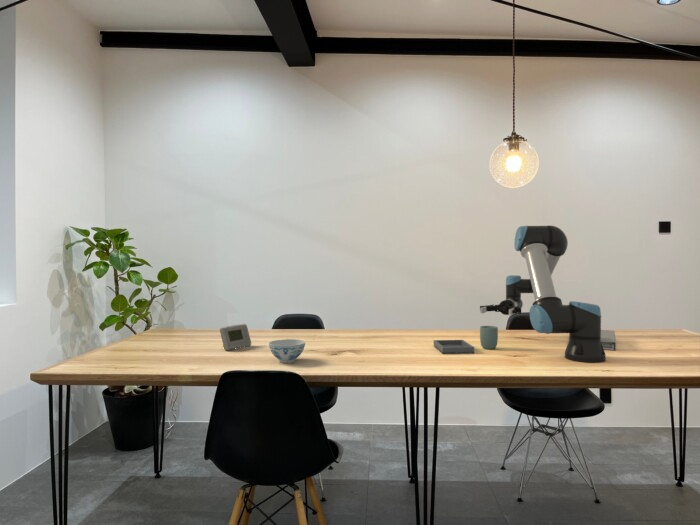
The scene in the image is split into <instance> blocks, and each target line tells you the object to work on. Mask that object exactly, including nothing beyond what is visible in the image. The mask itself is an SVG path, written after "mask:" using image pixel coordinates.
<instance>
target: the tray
mask: <svg viewBox="0 0 700 525" xmlns="http://www.w3.org/2000/svg"><path fill="white" fill-rule="evenodd" d="M433 347H434V348H435V349H437V351H439V353H441V354H442V355H462V354H463V355H464V354H467V355H469V354H475V347H474V346H473V345H472V344H470V343H468V342H467V341H466V340H464V339H437V340H436V339H434V340H433Z"/></svg>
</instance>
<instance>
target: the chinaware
mask: <svg viewBox="0 0 700 525" xmlns="http://www.w3.org/2000/svg"><path fill="white" fill-rule="evenodd" d="M268 346H269V347H268V348H269V349H270V352H271V354H272V355H273V356H274V357H275V358H276V359H277V360H278V362H279V363H281V364H287V362H290V363H294V362H296V359H298V358H299V357H300V356H301V355H302V353H303V352H304V349H305V346H306V340H302V339H295V338H294V339H293V338H290V339H289V338H287V339H277V340H276V339H275V340H272V341H270V342H268Z"/></svg>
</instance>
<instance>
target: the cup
mask: <svg viewBox="0 0 700 525" xmlns="http://www.w3.org/2000/svg"><path fill="white" fill-rule="evenodd" d="M498 329H499V328H498V326H495V325H482V326H480V327H479V340H480V345H481V348H483V349H485V350H494V349H496V348H497V345H498V341H499V340H498V339H499V336H498V335H499V330H498Z"/></svg>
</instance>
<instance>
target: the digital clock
mask: <svg viewBox="0 0 700 525" xmlns="http://www.w3.org/2000/svg"><path fill="white" fill-rule="evenodd" d="M219 333H220V337H221V342H222V348H223V347H224V349H223V350H224V351H226V350H227V351H231V350H230V349H234V350H236V349H235V348H239V347H244V346H246V347H249V345H250V346H251V345H252V341H251V340H252V339H251V336H250V332H249V328H248V326H247V324H246V323H242V324H234V325H233V324H232V325H228V326H224V327H220V329H219ZM244 348H245V347H244ZM239 349H240V348H239Z"/></svg>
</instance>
